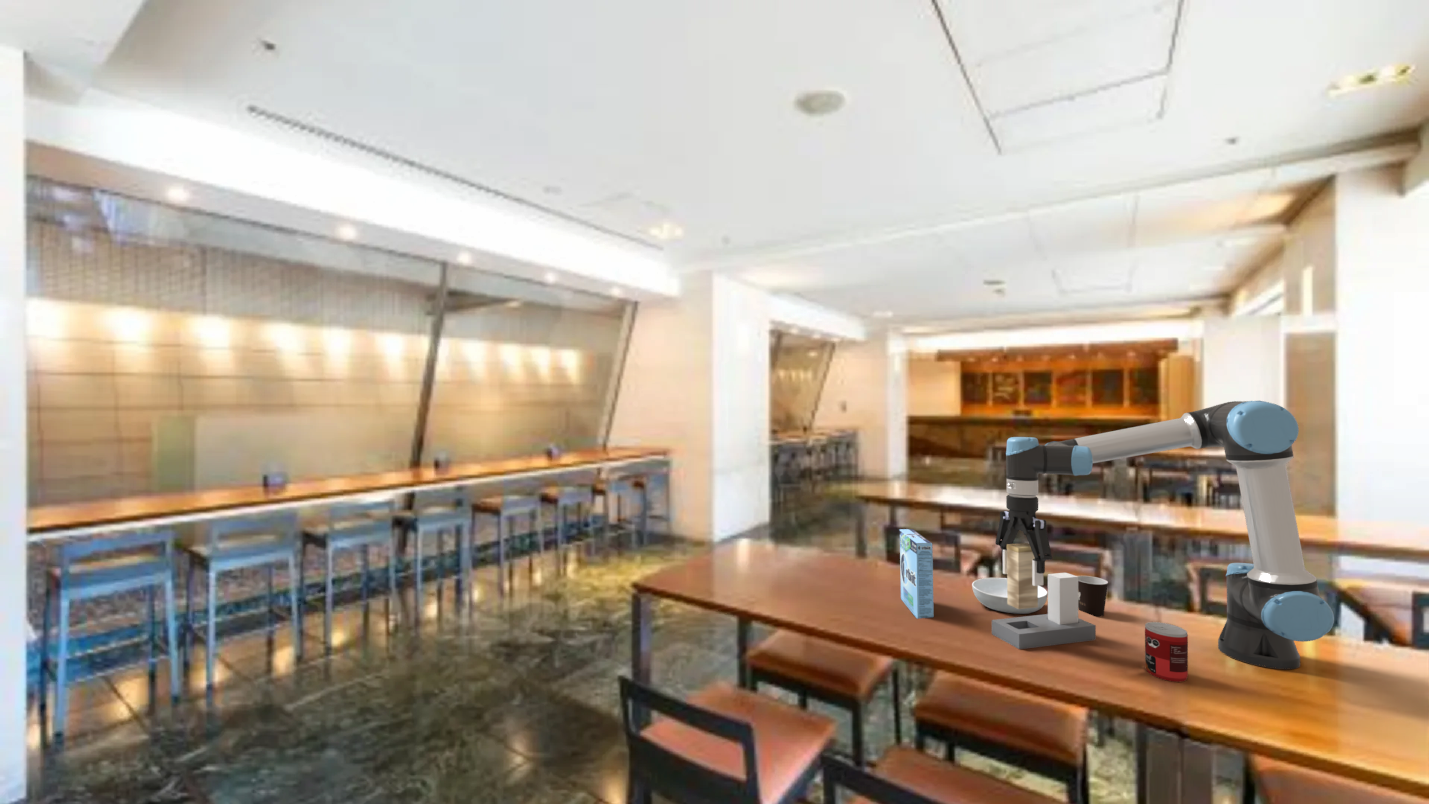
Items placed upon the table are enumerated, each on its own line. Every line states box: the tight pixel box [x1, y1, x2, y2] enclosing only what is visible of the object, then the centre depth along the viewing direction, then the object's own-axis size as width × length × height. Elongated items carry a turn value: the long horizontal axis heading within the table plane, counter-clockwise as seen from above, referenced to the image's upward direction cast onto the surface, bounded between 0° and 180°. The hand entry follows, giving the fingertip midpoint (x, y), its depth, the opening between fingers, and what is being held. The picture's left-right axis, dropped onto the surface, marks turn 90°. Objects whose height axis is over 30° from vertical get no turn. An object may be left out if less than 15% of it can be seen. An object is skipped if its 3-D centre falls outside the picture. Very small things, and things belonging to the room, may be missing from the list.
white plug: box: [1047, 572, 1079, 625], centre depth 158 cm, size 4×6×16 cm, turn 104°
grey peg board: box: [991, 613, 1097, 650], centre depth 156 cm, size 10×24×5 cm, turn 104°
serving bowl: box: [971, 577, 1048, 615], centre depth 181 cm, size 21×21×7 cm
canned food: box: [1144, 621, 1189, 683], centre depth 137 cm, size 8×8×11 cm
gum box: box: [899, 528, 935, 620], centre depth 181 cm, size 20×5×23 cm, turn 177°
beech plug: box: [1006, 542, 1038, 609], centre depth 155 cm, size 4×6×16 cm
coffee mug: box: [1076, 575, 1109, 618], centre depth 179 cm, size 12×9×10 cm
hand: (1022, 579), depth 155 cm, fingers open, 10 cm apart
